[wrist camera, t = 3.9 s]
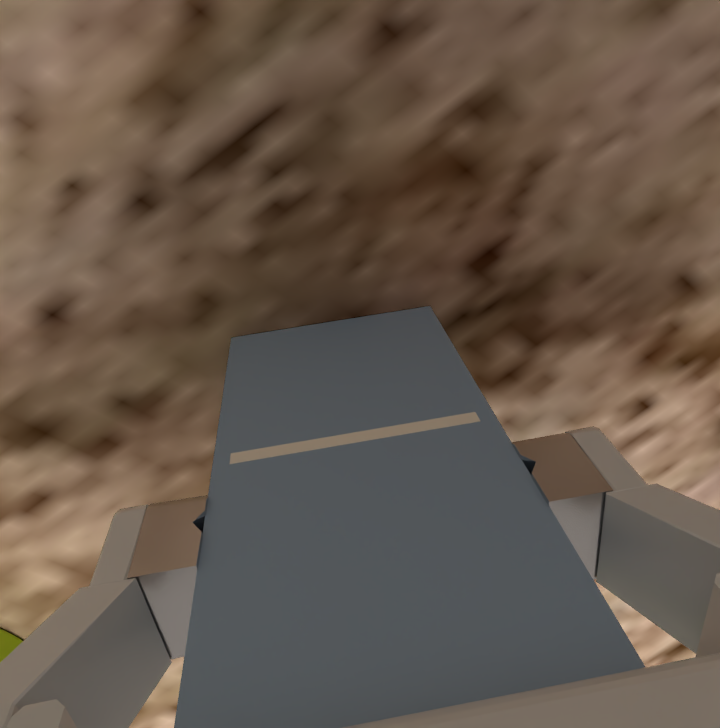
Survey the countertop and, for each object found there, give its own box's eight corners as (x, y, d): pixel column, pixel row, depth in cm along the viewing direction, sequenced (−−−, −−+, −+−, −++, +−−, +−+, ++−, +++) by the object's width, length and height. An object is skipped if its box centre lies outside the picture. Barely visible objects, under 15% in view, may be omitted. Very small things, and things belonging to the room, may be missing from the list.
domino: (231, 336, 15) (167, 769, 6) (430, 305, 15) (649, 673, 6) (244, 392, 15) (207, 846, 7) (433, 361, 16) (633, 759, 7)
